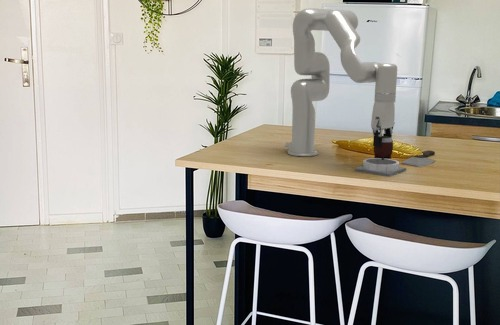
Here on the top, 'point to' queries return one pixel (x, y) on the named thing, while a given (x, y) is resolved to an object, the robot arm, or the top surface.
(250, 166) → the top surface
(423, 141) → the top surface
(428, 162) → the cleaver
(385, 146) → the mate gourd
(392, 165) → the housing
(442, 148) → the top surface
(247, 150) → the top surface
